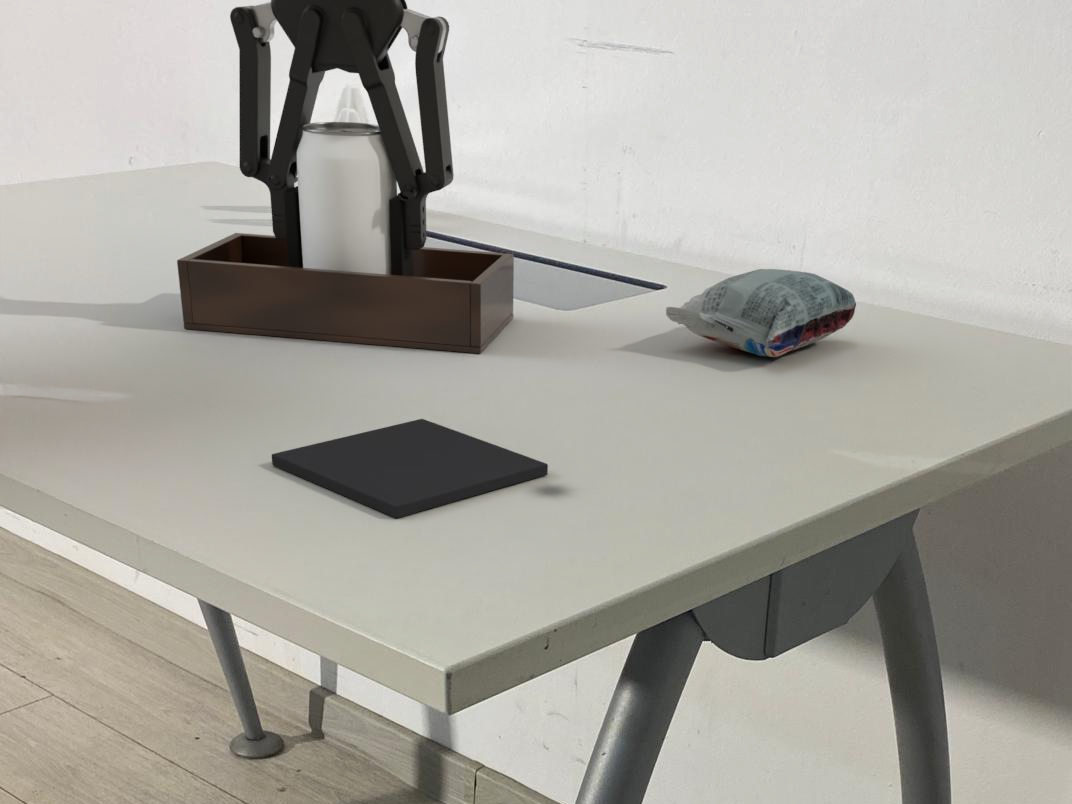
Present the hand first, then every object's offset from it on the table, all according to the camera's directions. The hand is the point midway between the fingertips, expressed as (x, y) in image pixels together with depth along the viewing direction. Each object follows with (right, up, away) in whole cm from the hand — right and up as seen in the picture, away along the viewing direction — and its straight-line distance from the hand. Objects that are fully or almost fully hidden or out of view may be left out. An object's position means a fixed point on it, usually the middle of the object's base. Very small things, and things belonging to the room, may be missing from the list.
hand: (352, 294), depth 98 cm
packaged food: (+28, -4, +1) cm, 28 cm away
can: (0, -2, +1) cm, 2 cm away
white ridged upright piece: (-6, +19, +35) cm, 41 cm away
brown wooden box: (0, -2, +1) cm, 2 cm away
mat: (+7, -18, -25) cm, 31 cm away
